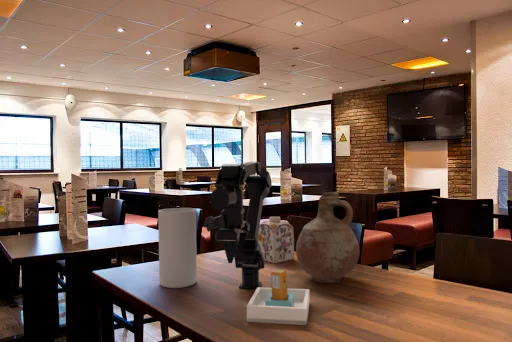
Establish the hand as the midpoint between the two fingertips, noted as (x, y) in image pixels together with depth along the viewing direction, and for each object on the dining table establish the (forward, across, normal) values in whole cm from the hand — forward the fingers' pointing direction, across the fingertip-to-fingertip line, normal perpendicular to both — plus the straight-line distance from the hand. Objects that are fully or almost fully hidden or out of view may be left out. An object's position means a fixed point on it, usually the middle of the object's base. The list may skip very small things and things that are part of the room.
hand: (234, 259), depth 118 cm
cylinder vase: (+12, -14, -23) cm, 30 cm away
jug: (+12, -25, +27) cm, 39 cm away
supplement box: (+11, +8, +14) cm, 20 cm away
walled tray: (+12, +8, +14) cm, 20 cm away
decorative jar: (+12, -53, +5) cm, 55 cm away
